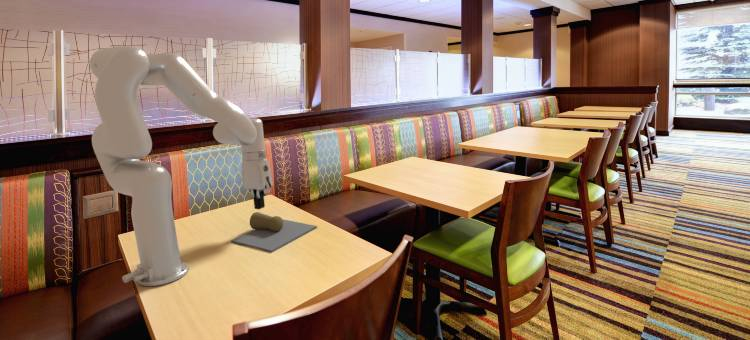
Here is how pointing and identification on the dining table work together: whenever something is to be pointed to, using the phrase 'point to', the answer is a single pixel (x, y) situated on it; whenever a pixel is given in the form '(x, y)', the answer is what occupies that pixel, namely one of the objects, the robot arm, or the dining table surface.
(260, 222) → the cork
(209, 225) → the dining table surface
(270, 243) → the mat
